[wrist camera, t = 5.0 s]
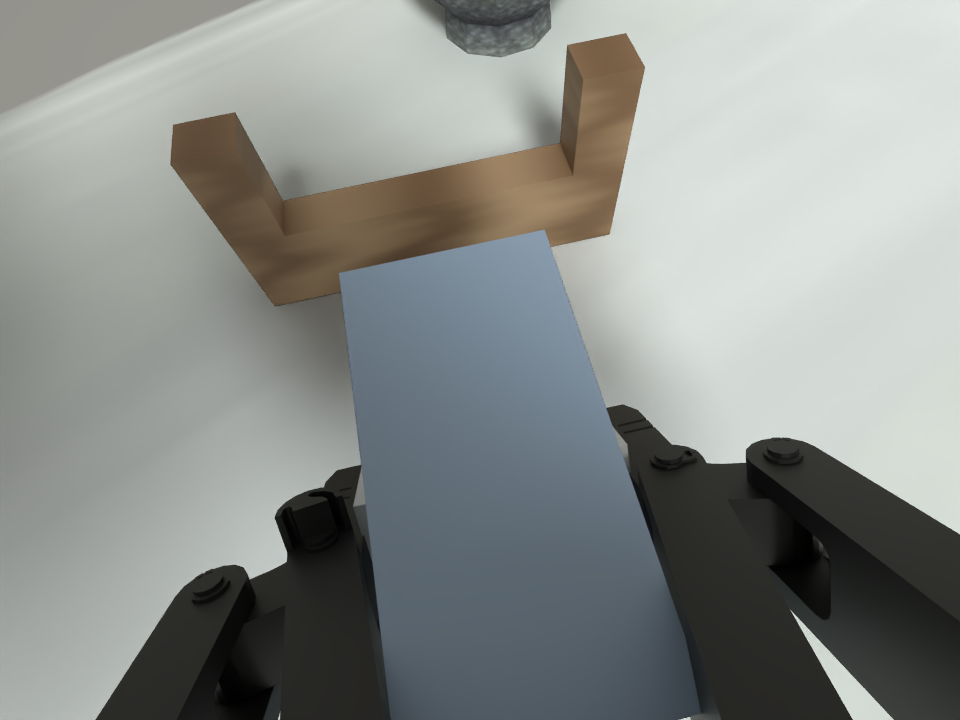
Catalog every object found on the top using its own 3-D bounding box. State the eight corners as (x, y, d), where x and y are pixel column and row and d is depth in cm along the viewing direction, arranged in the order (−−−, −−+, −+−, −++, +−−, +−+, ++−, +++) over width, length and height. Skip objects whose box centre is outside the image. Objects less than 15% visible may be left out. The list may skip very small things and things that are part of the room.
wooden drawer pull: (275, 306, 24) (170, 164, 17) (273, 273, 25) (172, 124, 18) (609, 234, 24) (644, 67, 17) (597, 204, 25) (625, 33, 18)
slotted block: (470, 702, 17) (398, 789, 7) (426, 451, 20) (338, 273, 10) (599, 671, 17) (710, 711, 7) (532, 427, 20) (544, 229, 11)
